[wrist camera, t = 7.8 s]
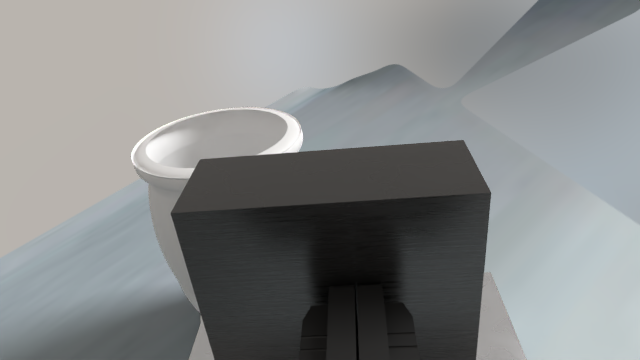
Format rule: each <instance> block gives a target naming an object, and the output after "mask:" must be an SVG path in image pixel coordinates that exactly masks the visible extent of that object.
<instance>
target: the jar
mask: <svg viewBox="0 0 640 360" xmlns="http://www.w3.org/2000/svg"><path fill="white" fill-rule="evenodd" d="M302 141H303V133H302V130H301V126H300V123H299V121H298V120H297V119H296V118H295V117H293V116H292V115H290V114H288V113H285V112H282V111H279V110H275V109H269V108H259V107H238V108H227V109H219V110H213V111H208V112H203V113H199V114H195V115H191V116H188V117H184V118H181V119H178V120H176V121H173V122H171V123H168V124H166V125H164V126H162V127H160V128H158V129H156V130H154V131H152V132H151V133H149V134H148V135H146V136H145V137H144V138H142V139H141V140H140V141H139V142H138V143H137V144H136V146H135V147H134V149H133V151H132V153H131V160H132V162H133V164H134V168H135V170H136V172H137V174H138V175H139V176H140V178H142V179H143V180H144V181H145V182H147V183H148V184H149V187H148V192H149V204H150V211H151V217H152V222H153V226H154V230H155V234H156V237H157V240H158V243H159V246H160V248H161V251H162V253H163V255H164V257H165V259H166V261H167V263H168V265H169V267H170V269H171V270H172V272H173V274H174V275H175V277H176V278H177V280H178V282H179V284H180V286H181V288H182V290H183V292H184V293H185V295H186V297H187V298H188V300H189V301H190V302H191V304H192V305H193V306H194V307H195V308H196V310H197V311H198V312H199V313H200V310H199V307H198V303H197V300H196V297H195V293H194V290H193V287H192V283H191V280H190V277H189V273H188V270H187V267H186V263H185V260H184V257H183V253H182V250H181V247H180V243H179V240H178V237H177V233H176V230H175V227H174V223H173V220H172V217H171V211H172V209H173V208H174V206H175V204H176V202H177V200H178V198H179V197H180V195H181V193H182V191H183V189H184V188H185V186H186V184H187V182H188V180H189V178H190V177H191V175H192V173H193V171H194V169H195V167H196V166H197V164H198V162H199V160H200V159H211V158H224V157H238V156H252V155H266V154H279V153H293V152H298V151H299V150H300V148H301V145H302ZM200 321H202V317H201V315H200Z"/></svg>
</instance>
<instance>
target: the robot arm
mask: <svg viewBox="0 0 640 360" xmlns="http://www.w3.org/2000/svg"><path fill="white" fill-rule="evenodd" d="M357 311H358V320H357ZM299 360H420V357H419V351H418V346H417V339H416V335H415V327H414V321H413V316H412V315H411V313H410V312H409V310H408V309H407V308H406V306H405V305H404V303H403V302H396V303H384V296H383V287H382V284H370V285H357V307H356V295H355V285H344V286H329V298H328V305H317V306H311V307H310V309H309V310H308V312H307V314H306V315H305V317H304V319H303V321H302V331H301V341H300V352H299Z"/></svg>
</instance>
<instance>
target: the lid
mask: <svg viewBox="0 0 640 360" xmlns="http://www.w3.org/2000/svg"><path fill="white" fill-rule="evenodd" d="M490 199H491V192H490V190H489V188H488V186H487V184H486V182H485V180H484V178H483V176H482V175H481V173H480V171H479V169H478V167H477V165H476V163H475V161H474V159H473V157H472V156H471V154H470V152H469V150H468V148H467V146H466V144H465V142H464V140H458V141H444V142H431V143H417V144H403V145H389V146H376V147H362V148H348V149H334V150H321V151H307V152H293V153H279V154H266V155H252V156H238V157H224V158H211V159H200V160H199V162H198V164H197V166H196V167H195V169H194V171H193V173H192V175H191V177H190V178H189V180H188V182H187V184H186V186H185V188H184V189H183V191H182V193H181V195H180V197H179V198H178V200H177V202H176V204H175V206H174V208H173V209H172V211H171V217H172V220H173V223H174V227H175V230H176V233H177V237H178V240H179V243H180V247H181V250H182V253H183V257H184V260H185V263H186V267H187V270H188V273H189V277H190V280H191V283H192V287H193V290H194V293H195V297H196V300H197V303H198V307H199V310H200V313H201V317H202V321H201V324H200V327H199V330H198V333H197V336H196V339H195V342H194V345H193V348H192V351H191V354H190V357H189V360H299V352H300V341H301V331H302V321H303V319H304V317H305V315H306V314H307V312H308V310H309V309H310V307H311V306H317V305H328V298H329V286H344V285H355V295H356V307H357V285H370V284H382V287H383V296H384V303H396V302H403V303H404V305H405V306H406V308H407V309H408V310H409V312H410V313H411V315H412V316H413V321H414V327H415V335H416V339H417V346H418V351H419V357H420V360H527V359H526V357H525V355H524V352H523V350H522V347H521V345H520V342H519V340H518V338H517V335H516V333H515V330H514V328H513V325H512V323H511V320H510V318H509V316H508V313H507V311H506V308H505V306H504V303H503V301H502V299H501V296H500V294H499V291H498V289H497V286H496V284H495V282H494V279H493V277H492V274H491V272H490V273H484V266H485V254H486V243H487V232H488V221H489V210H490ZM357 320H358V311H357Z"/></svg>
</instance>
